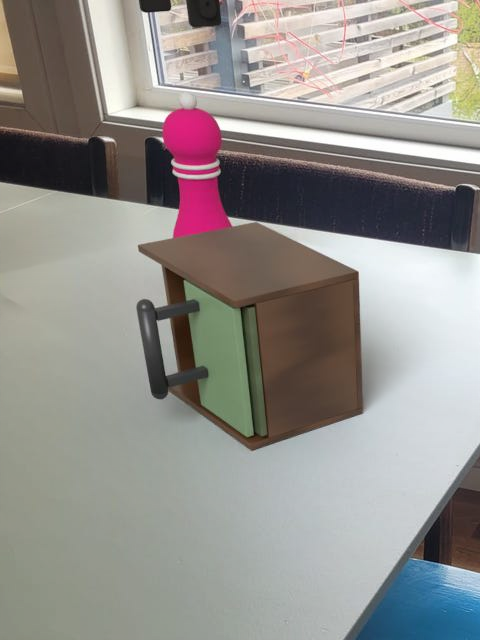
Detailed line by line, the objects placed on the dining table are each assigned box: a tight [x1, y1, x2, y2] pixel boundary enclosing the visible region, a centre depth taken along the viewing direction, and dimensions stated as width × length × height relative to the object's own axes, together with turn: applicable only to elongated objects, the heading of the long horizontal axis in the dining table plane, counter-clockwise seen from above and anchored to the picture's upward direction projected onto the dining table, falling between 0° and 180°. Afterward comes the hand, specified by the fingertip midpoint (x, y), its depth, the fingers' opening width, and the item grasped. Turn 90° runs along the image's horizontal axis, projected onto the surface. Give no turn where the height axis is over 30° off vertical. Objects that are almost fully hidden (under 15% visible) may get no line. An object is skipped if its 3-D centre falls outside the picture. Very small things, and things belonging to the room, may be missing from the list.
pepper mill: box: [162, 90, 234, 238], centre depth 108 cm, size 7×7×20 cm
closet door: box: [135, 280, 254, 437], centre depth 83 cm, size 6×8×11 cm
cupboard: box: [137, 221, 364, 451], centre depth 89 cm, size 12×16×13 cm
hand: (180, 18), depth 98 cm, fingers open, 9 cm apart
